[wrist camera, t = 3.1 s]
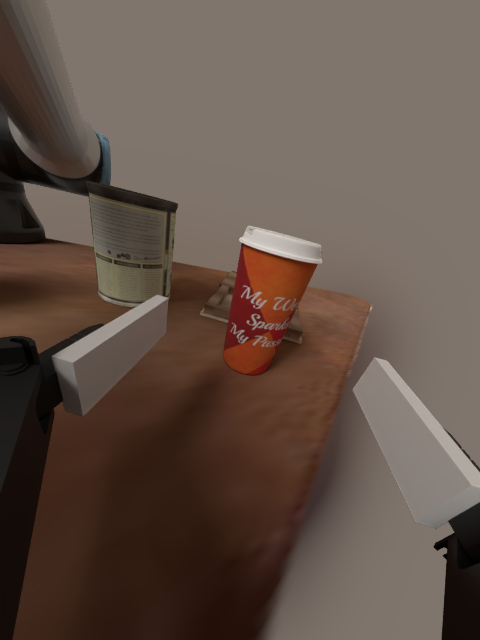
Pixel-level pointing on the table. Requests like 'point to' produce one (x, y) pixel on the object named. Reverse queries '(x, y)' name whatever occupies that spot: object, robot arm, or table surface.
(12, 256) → the table surface
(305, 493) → the table surface
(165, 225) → the coffee can
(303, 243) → the paper cup
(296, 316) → the keyhole slot
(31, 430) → the robot arm
